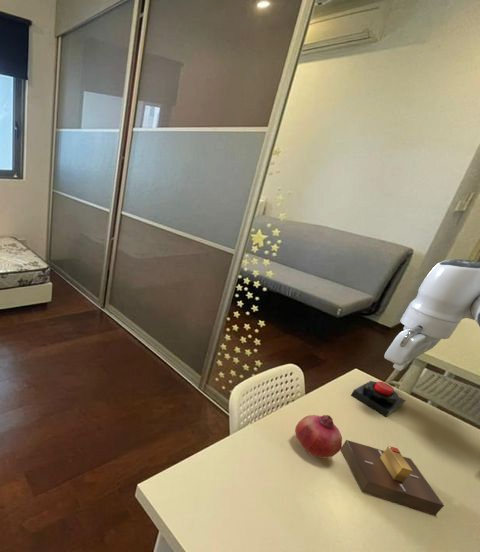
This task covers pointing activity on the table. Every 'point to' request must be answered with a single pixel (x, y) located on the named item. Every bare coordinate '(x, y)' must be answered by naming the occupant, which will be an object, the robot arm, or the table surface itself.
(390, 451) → the block
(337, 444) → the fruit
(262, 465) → the table surface
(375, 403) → the bell block
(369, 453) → the plate
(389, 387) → the bell button
